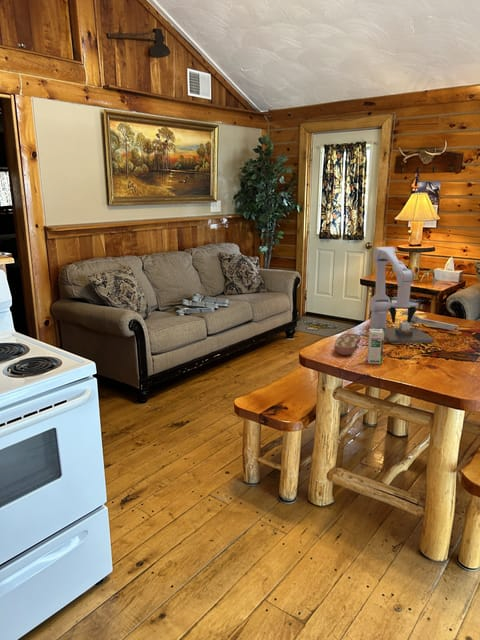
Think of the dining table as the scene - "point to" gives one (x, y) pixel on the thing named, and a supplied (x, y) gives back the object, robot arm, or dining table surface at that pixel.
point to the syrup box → (375, 346)
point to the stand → (406, 336)
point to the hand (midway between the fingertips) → (401, 322)
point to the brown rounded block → (346, 343)
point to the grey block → (404, 326)
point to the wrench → (429, 322)
